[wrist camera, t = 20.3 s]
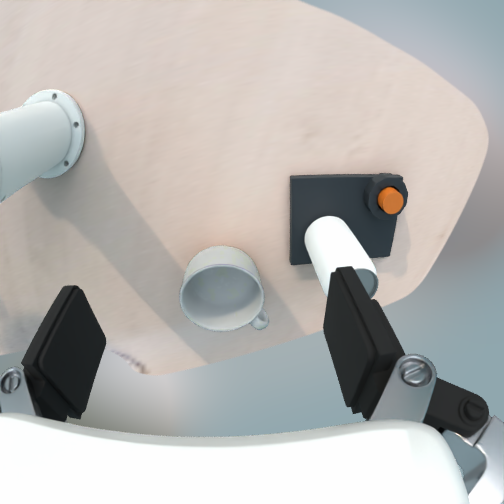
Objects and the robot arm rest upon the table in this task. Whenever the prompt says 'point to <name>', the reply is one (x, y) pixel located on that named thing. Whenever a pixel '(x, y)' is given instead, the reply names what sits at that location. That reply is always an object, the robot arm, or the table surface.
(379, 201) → the button
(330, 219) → the can
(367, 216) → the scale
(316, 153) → the table surface
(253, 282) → the teacup
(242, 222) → the table surface
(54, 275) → the table surface
